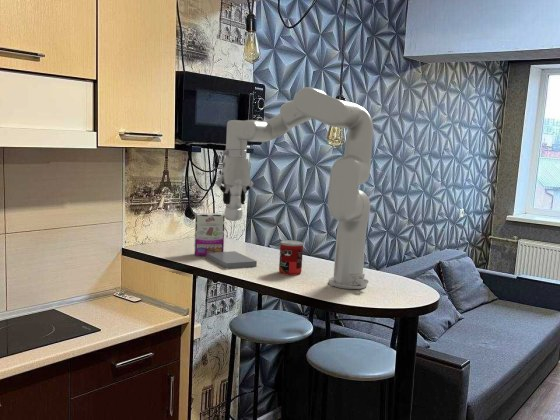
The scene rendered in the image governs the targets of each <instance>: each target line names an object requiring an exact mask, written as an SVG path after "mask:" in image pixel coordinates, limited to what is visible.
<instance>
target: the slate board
mask: <svg viewBox="0 0 560 420" xmlns="http://www.w3.org/2000/svg"><path fill="white" fill-rule="evenodd" d="M206 259H207V260H210V261H211V262H213V263H214V264H217V265H219V266H220V265H221V267H222V266H223V268H225V269H229V270H230V269H240V268H243V267H244V268H254V267H258V265H257V264H258V261H257V260H255V259H253V258H251V257H249V256H246V255H244V254H242V253H239V252H238V251H236V250H235V251H234V250H233V251H223V252H214V253H207V256H206Z"/></svg>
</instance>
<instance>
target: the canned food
mask: <svg viewBox="0 0 560 420" xmlns="http://www.w3.org/2000/svg"><path fill="white" fill-rule="evenodd" d="M279 244H280V245H279V247H280V248H279V260H278V261H279V265H278V266H279V267H278V272H279V274H281V275H286V276H299V275H301V274H302V270H303V269H302V268H303V255H304V243H303V242H302V241H300V240H299V241H298V240H291V239H290V240H288V239H286V240H281V241H280V243H279Z"/></svg>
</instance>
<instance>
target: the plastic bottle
mask: <svg viewBox="0 0 560 420" xmlns="http://www.w3.org/2000/svg"><path fill="white" fill-rule="evenodd" d="M242 188H243V186H241V180H240V179H237V180H236V181H235V185H234V186H230V188H229V191H228V193H229V204H225V208H224V209H225V210H224V213H223V214H224V215H225V220H228V221H231V222H236V221H240V220H241V219H242V218H243V208H242V204H241V195H242Z"/></svg>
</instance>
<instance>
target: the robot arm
mask: <svg viewBox="0 0 560 420" xmlns="http://www.w3.org/2000/svg"><path fill="white" fill-rule="evenodd" d="M311 120H316V121H318V122H320V123H323V124H325V125H327V126H330V127H333V128H339V129H340V128H341V129H346V130H347V137H346V139H345V142H344V143H345V144H344V147H345V149H344V155H343V156H341V157H339V158H337V159H336V160H335V161H334V162H333V164H332V166H331V169H330V173H329V182H328V183H329V184H328V185H329V186H328V193H327V197H328V198H327V207H328V208H327V209H328V212H329V215H330V216H331V217H332V218H333V219H334V220H336V221H338V223H337V229H336V238H335V239H336V241H335V252H334V253H335V255H334V264H333V265H334V267H333V276H332V277H330V278H328V284H329V285H330V286H332V287H336V288H339V289H345V290H346V289H347V290H361V289H365V288H366V287H367V286H368V284H369V279H366V278H365V276H366V274H365V273H364V264H365V252H366V239H367V238H366V237H367V229H368V223H369V222H368V221H369V217H370V212H371V201H370V198H369V196H368V195H367V193H366V192H364V191H363V190H360V189H359V186H360V185H364V184H365V183H366V182H367V181H369V179H370V178H369V177H370V175H371V164H372V151H373V138H374V122H373V118H372V116H371V115H370V113H369V112H368V110H367V109H365V108H364V107H363V106H361V105H359V104H357V103H355V102H351V101H348V100H347V101H346V100H341V99H338V98H335V97H333V96H330V95H329V94H327V93H326V92H325V91H324V90H321V89H319V88H314V87H310V86H306V87H303V88H300V89H299V90H298V91H296V92H295V95H294V97H293V99H292V100H288V101H287V102H284V103H283V104H282V105H281V106H280V107H279V114H277V115H275V116H273V117H271V118H269V119H267V120H259V119H257V120H255V119H246V120H240V119H239V120H238V119H233V120H232V119H231V120H227V123H226V137H225V138H226V142H225V144H226V145H225V150H223V151H222V155H225V157H223V162H222V166H221V170H220V171H221V172H220V176H219V177H218V178H217V180H216V182H215V185H216V187H218V189H219V190H220V191H221V192H222V202H223V204H224V205H226V204H229V193H228V191H229V188H230V186H234V185H235V181H236V180H237V179H240V180H241V186H243V188H242V195H241V205H245V202H246V194H247V193H248V191H249V190H250V189H251V188H252V187H253V186H254V185H255V183H254V182H253V180H252V179H251V171H250V169H251V167H250V161H249V158H247V150H248V142H251V143H252V142H253V143H254V142H257V143H258V142H259V143H266V142H269V141H272V140H275V139H277V138H279V137H282V136H284V135H285V134H287V133H288V132H290V131H291V130H292V129H293V128H294V127H297V126H299V125H301V124H303V123H306V122H308V121H311Z"/></svg>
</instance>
